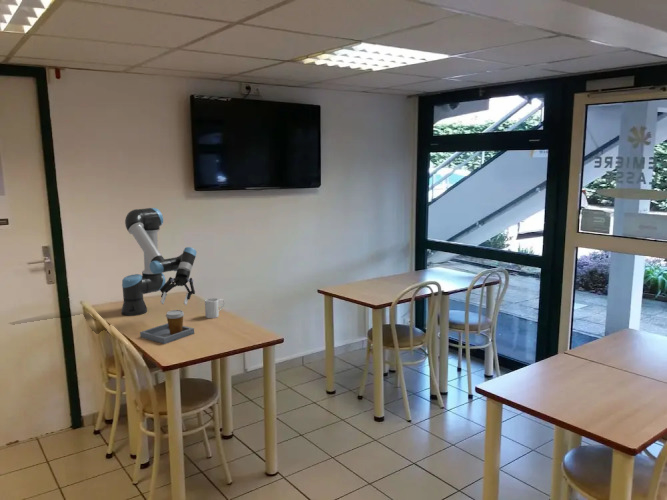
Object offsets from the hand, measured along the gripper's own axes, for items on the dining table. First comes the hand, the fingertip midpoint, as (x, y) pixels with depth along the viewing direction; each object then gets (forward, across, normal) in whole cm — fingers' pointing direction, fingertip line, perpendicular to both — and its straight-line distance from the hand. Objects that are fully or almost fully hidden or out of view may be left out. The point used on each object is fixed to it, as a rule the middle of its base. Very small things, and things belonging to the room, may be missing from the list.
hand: (173, 303), depth 295 cm
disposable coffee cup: (+15, -4, -6) cm, 17 cm away
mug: (-10, -12, -32) cm, 36 cm away
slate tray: (+17, 0, -5) cm, 18 cm away
